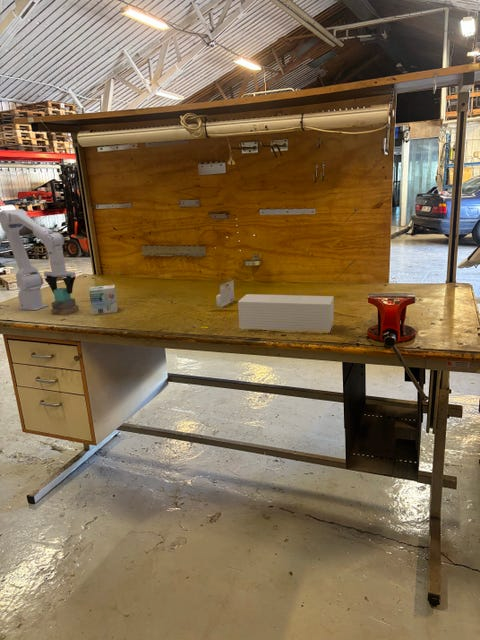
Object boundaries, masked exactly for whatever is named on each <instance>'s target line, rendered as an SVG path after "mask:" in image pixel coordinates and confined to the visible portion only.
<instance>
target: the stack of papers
mask: <svg viewBox="0 0 480 640" xmlns="http://www.w3.org/2000/svg"><path fill="white" fill-rule="evenodd" d="M334 297H335V296H333V295H330V296H329V295H293V294H258V293H257V294H253V293H250V294H245V295H244V296H243V297H241V299H239V300H238V301H237V306H238V307H237V308H238V310H237V311H238V325H239V328H241V329H263V330H287V331H288V330H292V331H328V332H330V331H331V328H332V325H333V322H334V319H335V318H334V315H335V313H334V311H335V310H334V309H335V306H334V304H335V303H334V301H335V298H334ZM334 323H335V322H334ZM333 326H334V325H333ZM239 328H238V329H239ZM332 329H333V328H332ZM331 332H332V331H331Z"/></svg>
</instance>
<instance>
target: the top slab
mask: <svg viewBox="0 0 480 640" xmlns="http://www.w3.org/2000/svg"><path fill="white" fill-rule="evenodd" d="M75 305H77V302H76V297H75V298H74V297H73V298H72V297H71V299H70V300H68V301H65V302H55V300H54V301H52V302H51V307H52V309H69V308H71V307H73V306H75Z"/></svg>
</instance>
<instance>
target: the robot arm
mask: <svg viewBox="0 0 480 640" xmlns="http://www.w3.org/2000/svg"><path fill="white" fill-rule="evenodd" d="M0 226H1V228H2V230H3V232H4V234H5V236H6V239H7V241H8V244H9V246H10V249H11V252H12V254H13V257H14V259H15V261H16V265H17V267H18V271H17V272H16V274H15V278H16V285H17V288H19V289H20V290H19V292H18V293H17V295H18V302H19V306H20V307H19V308H18V310H23V311H37V310H40V309H42V308H45V307H47V306H49V305H48V304H44V302H43V301H44V300H43V296H42V290H41V288H42V285H43V284H44V281H45V282H46V283H47V285H48V286H49V288H50V289H51V292H52V294H53V295H54V291H53V290H56V289H58V277H59V278H60V277H61V278H62V280H63V282H64V285H65V286H66V287H65V288H67V293H68V294H70V295H71V294H73V290H74V289H73V288H74V283H75V280H76V272H75V271H69V270H67V269H66V268H67V267H66V262H65V257H64V256H65V255H64V250H63V245H64V244H65V239H64V238H65V237H64V236H63V234H62V233H61V232H59V231H57V232H56V231H53V230H52V229H50V228H49V227H47V225H46V224H44V223H37V222H36V221H35V220H33V219H32V217H30V216H29V215H28V212H27V211H25V210H24V209H23V208H18V209H7V210H1V211H0ZM24 227H26V228H28V229H29V230H31V231H32V233H33V235H34V237H36V238H37V239H38V240H40V241H42V243H43V245H44V247H45V249H46V252H47V253H48V257H49V258H48V259H49V263H50V265H49V266H50V269H51V270H50V271H45V272H43V276H42V275H41V273H40V272H39V269H38V268H35V267H33V266H32V263H31V261H30V259H29V256H28V253H27V251H26V248H25V245H24V243H23V241H22V237H21V234H20V230H22V229H23V228H24ZM43 277H44V278H43Z"/></svg>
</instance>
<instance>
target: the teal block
mask: <svg viewBox="0 0 480 640" xmlns="http://www.w3.org/2000/svg"><path fill="white" fill-rule="evenodd" d="M53 291H54V294H53V296H54V301H55V302H65V301H68V300H70V299H71V298H72V297H71V294H68V293H67V288H66V287H57V289H56V290H53Z"/></svg>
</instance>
